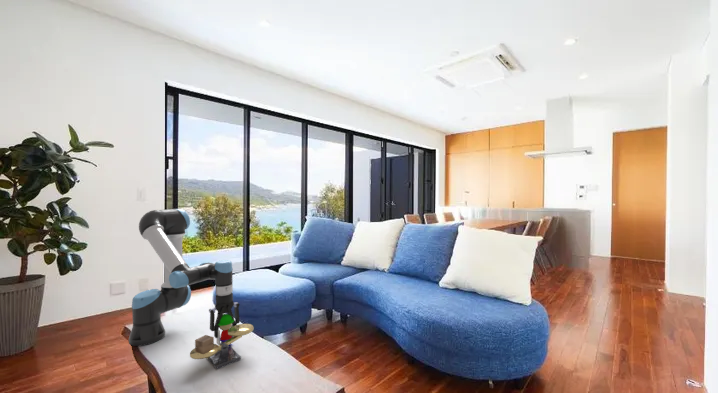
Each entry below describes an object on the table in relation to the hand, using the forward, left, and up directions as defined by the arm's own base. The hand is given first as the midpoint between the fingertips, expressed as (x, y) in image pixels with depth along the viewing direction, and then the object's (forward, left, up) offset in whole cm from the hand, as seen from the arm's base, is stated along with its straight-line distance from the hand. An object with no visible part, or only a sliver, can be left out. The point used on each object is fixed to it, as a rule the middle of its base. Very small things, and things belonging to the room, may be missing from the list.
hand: (225, 341), depth 147 cm
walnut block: (+12, -13, +5) cm, 18 cm away
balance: (+12, -5, -2) cm, 13 cm away
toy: (0, 0, -2) cm, 2 cm away
